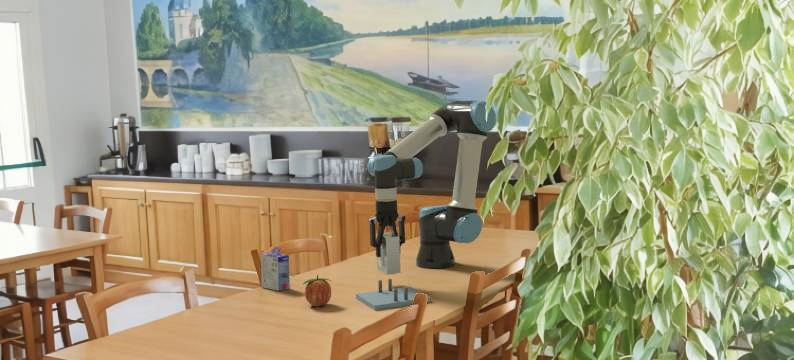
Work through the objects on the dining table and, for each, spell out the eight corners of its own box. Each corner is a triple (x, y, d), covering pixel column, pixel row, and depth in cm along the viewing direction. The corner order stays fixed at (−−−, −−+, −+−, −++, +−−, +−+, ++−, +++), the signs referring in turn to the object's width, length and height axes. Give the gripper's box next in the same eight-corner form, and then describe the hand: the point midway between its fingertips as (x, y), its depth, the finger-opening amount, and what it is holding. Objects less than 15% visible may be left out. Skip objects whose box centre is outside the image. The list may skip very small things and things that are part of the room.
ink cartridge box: (291, 288, 298) (289, 248, 297) (279, 291, 294) (277, 251, 293) (273, 284, 305) (271, 245, 303) (261, 287, 301) (259, 247, 299)
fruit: (334, 307, 271) (332, 277, 270) (304, 309, 270) (303, 279, 268) (331, 301, 280) (330, 271, 278) (302, 303, 278) (301, 273, 277)
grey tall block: (390, 267, 302) (389, 232, 300) (400, 272, 294) (399, 236, 292) (377, 269, 300) (375, 233, 298) (387, 274, 292) (385, 237, 290)
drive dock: (410, 290, 290) (409, 275, 290) (431, 302, 275) (431, 285, 274) (355, 298, 282) (355, 282, 282) (374, 310, 267) (374, 293, 266)
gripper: (405, 196, 301) (407, 259, 303) (358, 200, 294) (361, 266, 296) (414, 198, 294) (416, 263, 297) (366, 203, 287) (368, 270, 290)
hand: (388, 264), depth 297 cm, fingers closed on grey tall block, 5 cm apart
